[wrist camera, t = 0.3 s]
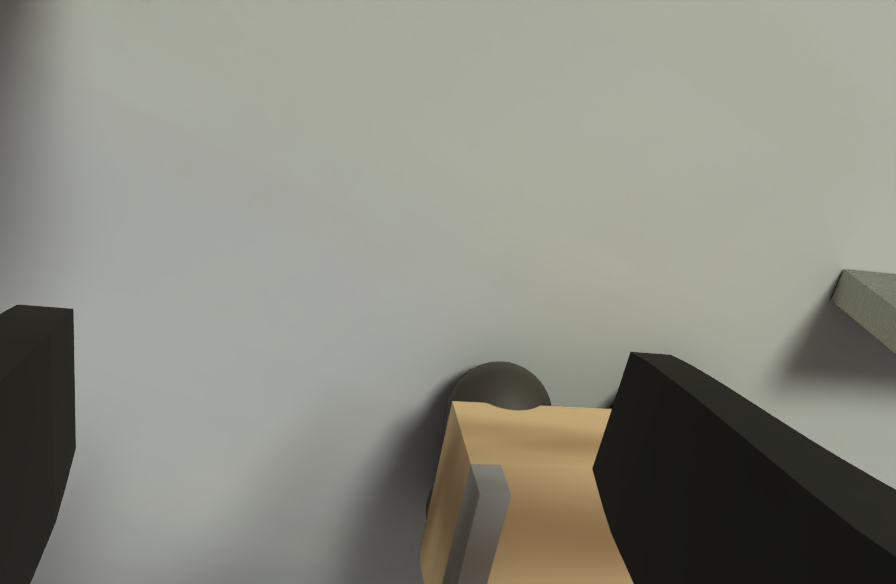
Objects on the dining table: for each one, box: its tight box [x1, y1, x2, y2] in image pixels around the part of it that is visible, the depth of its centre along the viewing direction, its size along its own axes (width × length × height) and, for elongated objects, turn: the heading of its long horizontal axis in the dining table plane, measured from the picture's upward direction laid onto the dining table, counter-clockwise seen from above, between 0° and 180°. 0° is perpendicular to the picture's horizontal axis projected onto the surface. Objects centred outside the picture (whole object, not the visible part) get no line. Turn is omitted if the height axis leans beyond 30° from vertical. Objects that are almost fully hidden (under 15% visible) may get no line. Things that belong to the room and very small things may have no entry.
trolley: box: [419, 362, 634, 584], centre depth 22 cm, size 6×8×6 cm
